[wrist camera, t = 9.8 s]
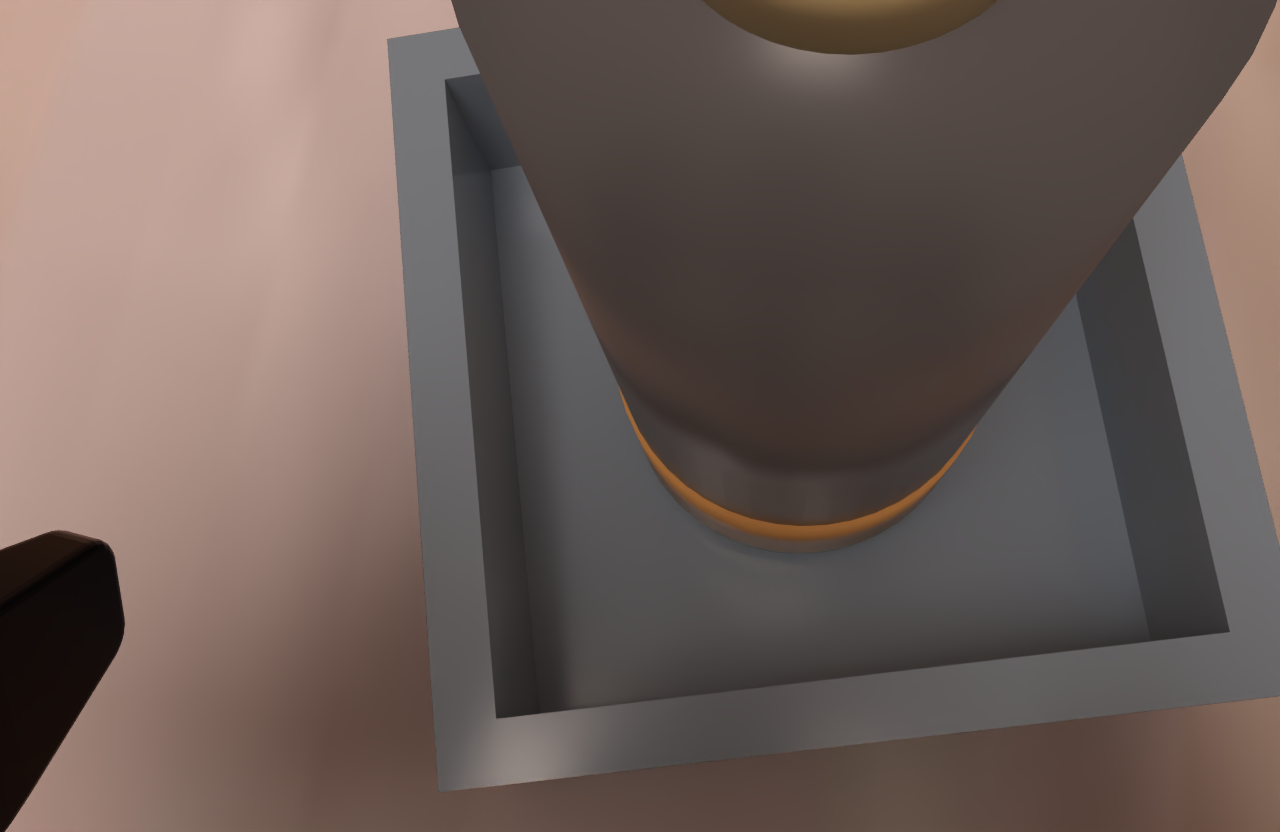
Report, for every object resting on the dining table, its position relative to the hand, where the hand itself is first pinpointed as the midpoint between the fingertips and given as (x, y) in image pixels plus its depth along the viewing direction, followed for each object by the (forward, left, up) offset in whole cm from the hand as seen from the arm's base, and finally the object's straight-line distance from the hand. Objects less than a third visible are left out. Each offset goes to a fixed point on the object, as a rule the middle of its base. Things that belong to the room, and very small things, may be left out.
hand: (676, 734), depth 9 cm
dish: (+2, +5, -10) cm, 12 cm away
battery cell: (+2, +5, -9) cm, 11 cm away
